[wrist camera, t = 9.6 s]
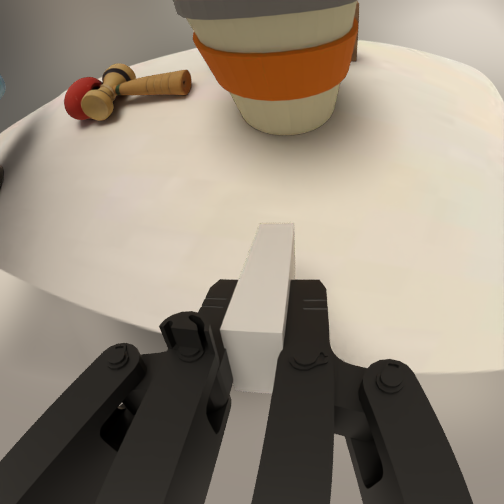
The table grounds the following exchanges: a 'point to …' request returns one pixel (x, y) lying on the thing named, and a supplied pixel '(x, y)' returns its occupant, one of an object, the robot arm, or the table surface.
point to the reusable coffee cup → (276, 56)
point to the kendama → (119, 90)
